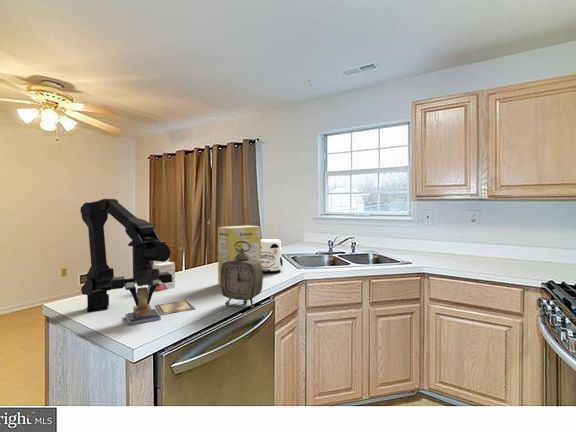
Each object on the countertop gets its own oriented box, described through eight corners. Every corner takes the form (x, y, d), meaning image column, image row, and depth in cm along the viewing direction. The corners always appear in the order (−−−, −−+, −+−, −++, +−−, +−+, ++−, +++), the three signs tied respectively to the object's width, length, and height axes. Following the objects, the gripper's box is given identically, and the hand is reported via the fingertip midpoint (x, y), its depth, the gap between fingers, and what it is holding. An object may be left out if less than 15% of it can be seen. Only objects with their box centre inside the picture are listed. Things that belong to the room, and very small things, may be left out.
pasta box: (248, 278, 168) (248, 225, 167) (260, 281, 161) (260, 226, 160) (218, 284, 156) (217, 227, 155) (230, 288, 148) (230, 228, 147)
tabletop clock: (220, 306, 121) (220, 241, 120) (232, 299, 130) (231, 239, 129) (255, 310, 117) (254, 243, 116) (264, 303, 125) (264, 240, 124)
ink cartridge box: (159, 291, 143) (158, 258, 142) (152, 289, 146) (152, 257, 145) (175, 287, 150) (175, 256, 149) (169, 285, 153) (168, 255, 152)
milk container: (260, 275, 174) (260, 243, 173) (248, 270, 189) (248, 239, 188) (288, 272, 182) (288, 241, 182) (274, 267, 198) (274, 238, 197)
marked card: (161, 315, 112) (161, 313, 112) (155, 305, 122) (155, 304, 122) (195, 309, 119) (195, 308, 119) (187, 300, 129) (187, 299, 129)
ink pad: (128, 325, 103) (127, 321, 102) (125, 316, 110) (125, 312, 110) (160, 319, 108) (160, 315, 108) (156, 311, 115) (156, 308, 115)
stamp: (136, 318, 105) (135, 291, 104) (133, 312, 111) (133, 287, 110) (152, 315, 107) (151, 289, 107) (149, 309, 113) (148, 285, 113)
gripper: (112, 266, 97) (113, 317, 97) (175, 260, 106) (176, 306, 107) (110, 260, 106) (111, 307, 107) (168, 256, 116) (169, 298, 116)
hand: (142, 304), depth 109 cm, fingers closed on stamp, 3 cm apart
